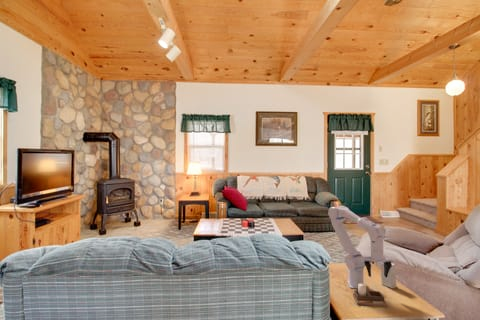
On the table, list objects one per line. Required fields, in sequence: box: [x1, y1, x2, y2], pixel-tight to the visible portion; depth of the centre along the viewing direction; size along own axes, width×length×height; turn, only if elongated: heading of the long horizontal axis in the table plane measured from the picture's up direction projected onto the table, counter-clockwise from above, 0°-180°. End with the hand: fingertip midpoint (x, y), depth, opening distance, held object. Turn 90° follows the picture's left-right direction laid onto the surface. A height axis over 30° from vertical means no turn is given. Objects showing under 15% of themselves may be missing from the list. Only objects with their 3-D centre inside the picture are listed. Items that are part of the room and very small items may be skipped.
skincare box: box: [380, 262, 397, 289], centre depth 153 cm, size 6×4×12 cm
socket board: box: [352, 289, 388, 307], centre depth 136 cm, size 9×13×3 cm
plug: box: [357, 283, 367, 296], centre depth 138 cm, size 4×4×6 cm
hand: (377, 276), depth 142 cm, fingers open, 7 cm apart
